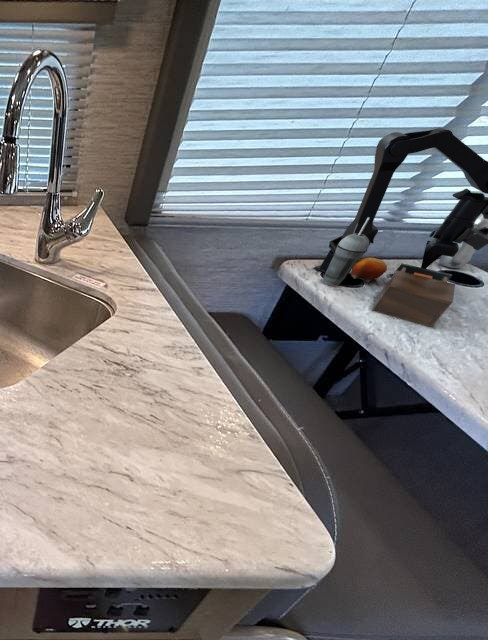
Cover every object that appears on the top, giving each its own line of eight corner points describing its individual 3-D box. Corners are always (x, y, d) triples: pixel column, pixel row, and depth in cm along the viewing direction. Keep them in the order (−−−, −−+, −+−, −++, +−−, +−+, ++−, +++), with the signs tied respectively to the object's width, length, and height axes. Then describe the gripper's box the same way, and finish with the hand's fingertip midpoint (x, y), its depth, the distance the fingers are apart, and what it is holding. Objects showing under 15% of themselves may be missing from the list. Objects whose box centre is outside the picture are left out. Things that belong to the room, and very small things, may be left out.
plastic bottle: (464, 272, 127) (517, 209, 114) (437, 267, 130) (486, 205, 117) (459, 264, 132) (510, 203, 119) (433, 260, 134) (480, 200, 121)
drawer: (390, 276, 124) (403, 259, 120) (438, 287, 118) (453, 269, 114) (383, 294, 115) (396, 276, 111) (433, 307, 109) (449, 289, 105)
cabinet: (379, 293, 117) (396, 270, 112) (435, 308, 110) (455, 284, 106) (372, 310, 110) (389, 286, 105) (430, 327, 103) (452, 302, 98)
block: (421, 293, 113) (431, 280, 110) (403, 289, 115) (413, 276, 113) (422, 288, 115) (432, 276, 113) (405, 284, 117) (414, 272, 115)
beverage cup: (318, 285, 122) (356, 220, 109) (315, 275, 127) (352, 213, 114) (346, 290, 119) (388, 224, 106) (342, 280, 124) (382, 216, 111)
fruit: (346, 277, 123) (361, 252, 121) (342, 281, 129) (357, 258, 127) (378, 284, 118) (395, 259, 116) (373, 289, 125) (388, 264, 123)
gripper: (504, 232, 100) (457, 286, 110) (502, 214, 110) (460, 266, 120) (446, 222, 106) (406, 275, 116) (449, 206, 116) (413, 256, 126)
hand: (423, 268), depth 119 cm, fingers closed
